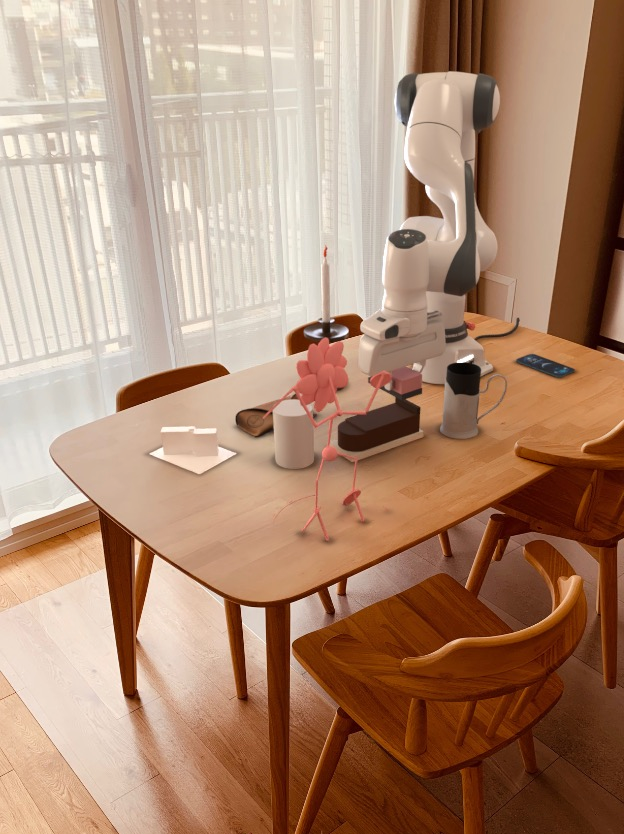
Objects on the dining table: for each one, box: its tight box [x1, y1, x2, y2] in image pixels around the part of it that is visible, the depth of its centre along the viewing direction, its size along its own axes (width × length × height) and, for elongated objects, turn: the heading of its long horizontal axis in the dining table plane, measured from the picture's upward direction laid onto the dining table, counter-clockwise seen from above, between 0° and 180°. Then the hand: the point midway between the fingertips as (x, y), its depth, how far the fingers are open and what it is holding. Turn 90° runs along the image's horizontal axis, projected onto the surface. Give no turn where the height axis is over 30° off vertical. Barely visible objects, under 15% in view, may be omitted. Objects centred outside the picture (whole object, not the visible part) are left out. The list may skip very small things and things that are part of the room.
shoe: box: [329, 396, 425, 463], centre depth 175 cm, size 20×8×8 cm, turn 128°
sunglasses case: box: [234, 393, 318, 437], centre depth 184 cm, size 18×7×7 cm, turn 133°
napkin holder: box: [149, 425, 238, 475], centre depth 169 cm, size 15×11×6 cm
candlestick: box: [303, 244, 350, 393], centre depth 193 cm, size 11×11×35 cm
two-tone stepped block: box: [367, 366, 423, 400], centre depth 164 cm, size 11×5×4 cm, turn 39°
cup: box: [273, 399, 315, 470], centre depth 166 cm, size 8×8×12 cm
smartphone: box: [515, 353, 576, 378], centre depth 216 cm, size 8×1×15 cm
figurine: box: [263, 337, 392, 542], centre depth 141 cm, size 15×26×35 cm, turn 137°
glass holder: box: [439, 362, 508, 440], centre depth 179 cm, size 9×14×15 cm, turn 91°
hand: (402, 384), depth 163 cm, fingers closed on two-tone stepped block, 5 cm apart
